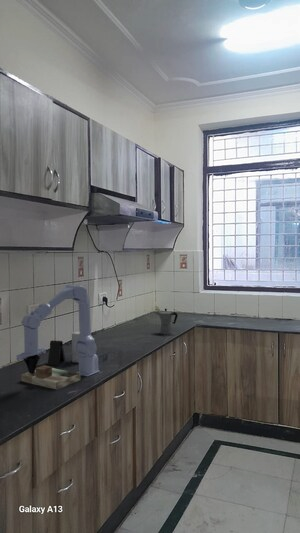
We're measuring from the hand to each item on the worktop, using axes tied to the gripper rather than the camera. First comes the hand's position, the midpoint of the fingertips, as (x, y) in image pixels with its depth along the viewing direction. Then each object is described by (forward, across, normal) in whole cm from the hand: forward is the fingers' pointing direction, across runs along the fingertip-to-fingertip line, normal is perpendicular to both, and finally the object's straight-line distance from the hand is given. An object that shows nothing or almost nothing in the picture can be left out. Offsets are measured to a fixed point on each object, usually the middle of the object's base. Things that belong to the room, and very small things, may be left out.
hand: (31, 373), depth 173 cm
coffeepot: (+6, -131, -6) cm, 131 cm away
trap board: (+6, -11, 0) cm, 13 cm away
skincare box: (+6, -44, -11) cm, 46 cm away
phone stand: (+7, -34, -19) cm, 39 cm away
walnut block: (+3, -7, 0) cm, 8 cm away
